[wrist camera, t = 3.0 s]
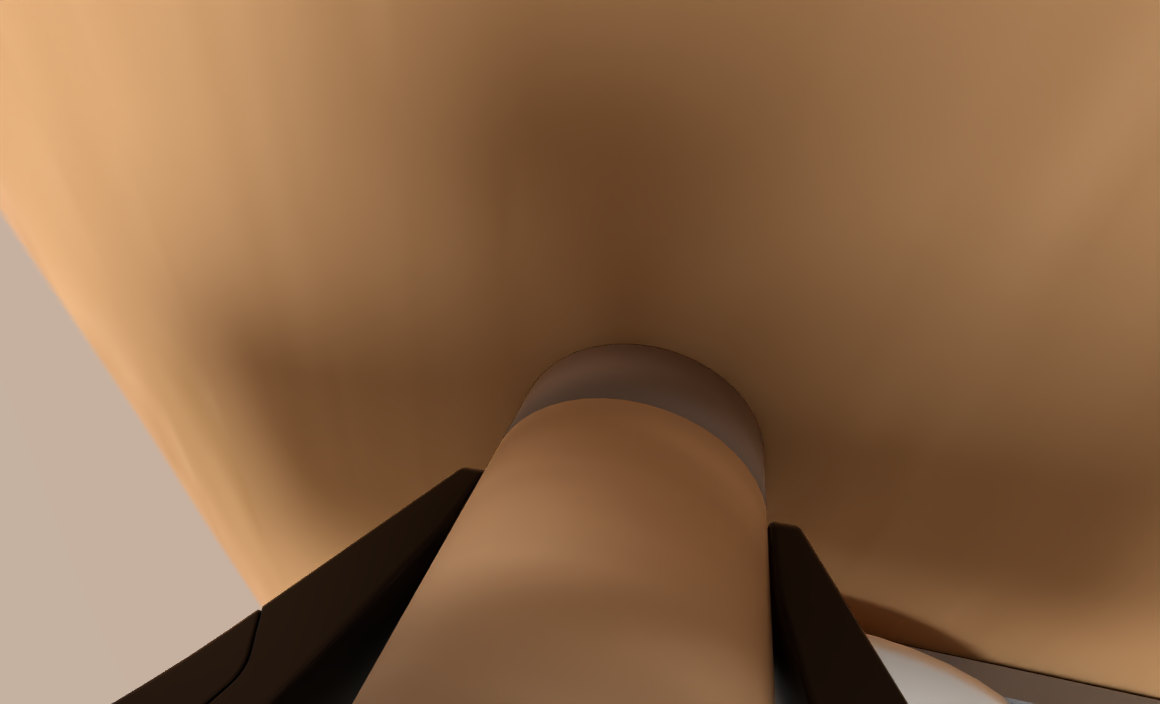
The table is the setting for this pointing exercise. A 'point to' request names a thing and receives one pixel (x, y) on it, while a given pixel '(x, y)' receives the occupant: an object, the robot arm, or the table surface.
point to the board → (982, 681)
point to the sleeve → (601, 551)
